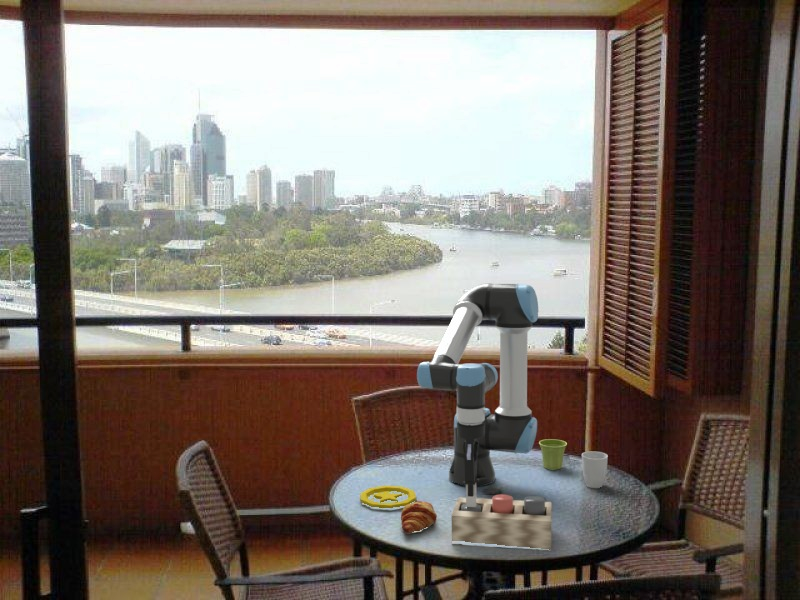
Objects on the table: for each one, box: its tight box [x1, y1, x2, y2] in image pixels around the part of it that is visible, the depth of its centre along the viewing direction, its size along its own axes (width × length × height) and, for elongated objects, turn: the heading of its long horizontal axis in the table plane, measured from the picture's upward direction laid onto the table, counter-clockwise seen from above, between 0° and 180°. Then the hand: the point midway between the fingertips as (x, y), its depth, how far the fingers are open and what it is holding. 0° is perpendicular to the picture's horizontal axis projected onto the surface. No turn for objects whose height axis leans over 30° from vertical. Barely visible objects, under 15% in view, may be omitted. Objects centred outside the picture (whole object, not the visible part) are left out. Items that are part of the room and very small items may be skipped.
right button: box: [523, 495, 546, 516], centre depth 220 cm, size 6×6×5 cm
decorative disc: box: [360, 485, 417, 508], centre depth 252 cm, size 17×18×2 cm
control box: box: [451, 496, 553, 551], centre depth 222 cm, size 26×14×8 cm, turn 79°
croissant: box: [400, 500, 437, 534], centre depth 233 cm, size 21×10×8 cm, turn 162°
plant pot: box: [538, 438, 568, 471], centre depth 281 cm, size 9×9×9 cm
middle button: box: [491, 494, 514, 514], centre depth 222 cm, size 6×6×5 cm
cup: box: [581, 451, 609, 489], centre depth 262 cm, size 8×8×10 cm
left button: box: [461, 504, 481, 512], centre depth 224 cm, size 6×6×5 cm
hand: (471, 506), depth 223 cm, fingers closed
